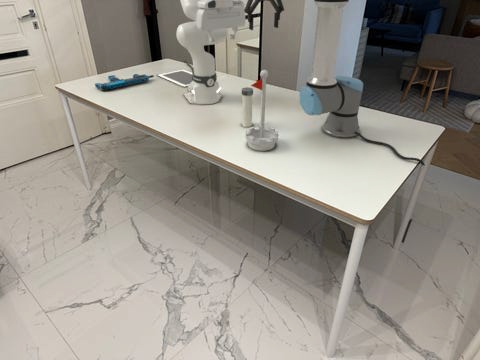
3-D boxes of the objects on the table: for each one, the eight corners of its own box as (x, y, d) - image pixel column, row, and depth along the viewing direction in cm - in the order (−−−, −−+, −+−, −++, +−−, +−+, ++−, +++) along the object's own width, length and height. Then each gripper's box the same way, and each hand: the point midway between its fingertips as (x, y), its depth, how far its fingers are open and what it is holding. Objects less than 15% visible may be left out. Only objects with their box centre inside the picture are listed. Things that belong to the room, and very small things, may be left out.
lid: (243, 91, 150) (243, 86, 149) (254, 92, 149) (254, 87, 148) (240, 95, 146) (240, 90, 144) (251, 96, 145) (251, 91, 143)
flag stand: (269, 135, 146) (272, 63, 129) (283, 148, 135) (289, 72, 119) (241, 140, 142) (241, 67, 125) (253, 154, 132) (254, 76, 115)
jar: (243, 122, 157) (243, 88, 149) (252, 123, 157) (253, 88, 148) (241, 126, 154) (241, 91, 145) (250, 127, 153) (251, 92, 144)
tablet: (157, 75, 221) (157, 74, 221) (183, 69, 232) (183, 69, 232) (184, 87, 201) (183, 86, 200) (211, 80, 212) (211, 79, 211)
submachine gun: (139, 68, 225) (158, 74, 208) (140, 74, 226) (158, 80, 210) (87, 78, 206) (103, 86, 189) (89, 84, 208) (104, 92, 191)
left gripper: (239, -1, 134) (240, 36, 142) (193, 2, 125) (196, 42, 133) (248, 0, 130) (248, 39, 138) (201, 3, 121) (203, 44, 128)
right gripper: (284, -24, 159) (281, 25, 170) (236, -23, 150) (236, 29, 161) (293, -24, 153) (290, 27, 165) (244, -22, 144) (243, 31, 156)
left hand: (222, 40), depth 135 cm, fingers open, 8 cm apart
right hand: (263, 28), depth 163 cm, fingers open, 13 cm apart
